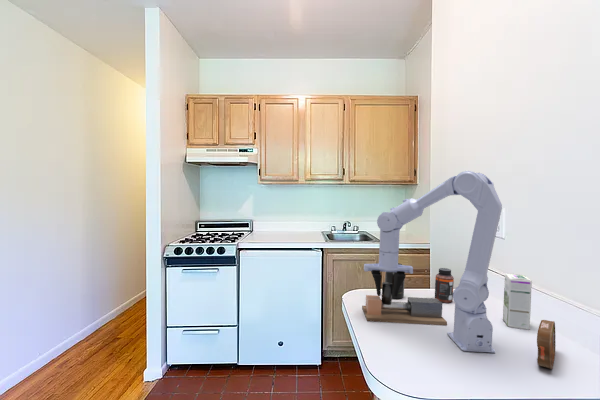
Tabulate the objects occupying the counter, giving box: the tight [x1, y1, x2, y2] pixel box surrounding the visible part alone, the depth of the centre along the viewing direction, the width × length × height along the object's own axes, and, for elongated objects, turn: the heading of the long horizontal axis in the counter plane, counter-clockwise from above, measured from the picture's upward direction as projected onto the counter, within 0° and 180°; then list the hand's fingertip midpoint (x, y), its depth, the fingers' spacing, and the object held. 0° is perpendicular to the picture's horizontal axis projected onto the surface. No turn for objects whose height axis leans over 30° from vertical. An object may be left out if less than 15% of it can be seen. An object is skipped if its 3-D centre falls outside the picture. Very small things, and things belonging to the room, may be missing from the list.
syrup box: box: [502, 273, 533, 331], centre depth 97 cm, size 6×6×14 cm
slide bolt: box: [381, 281, 411, 311], centre depth 100 cm, size 3×13×8 cm, turn 87°
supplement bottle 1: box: [384, 262, 406, 300], centre depth 119 cm, size 7×7×12 cm
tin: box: [536, 319, 556, 370], centre depth 77 cm, size 15×3×8 cm, turn 139°
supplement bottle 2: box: [434, 267, 455, 304], centre depth 116 cm, size 6×6×11 cm
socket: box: [364, 294, 382, 315], centre depth 100 cm, size 4×4×4 cm
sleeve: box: [407, 296, 443, 318], centre depth 100 cm, size 4×9×4 cm, turn 87°
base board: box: [362, 305, 448, 326], centre depth 100 cm, size 10×23×1 cm, turn 87°
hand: (386, 295), depth 100 cm, fingers open, 4 cm apart
